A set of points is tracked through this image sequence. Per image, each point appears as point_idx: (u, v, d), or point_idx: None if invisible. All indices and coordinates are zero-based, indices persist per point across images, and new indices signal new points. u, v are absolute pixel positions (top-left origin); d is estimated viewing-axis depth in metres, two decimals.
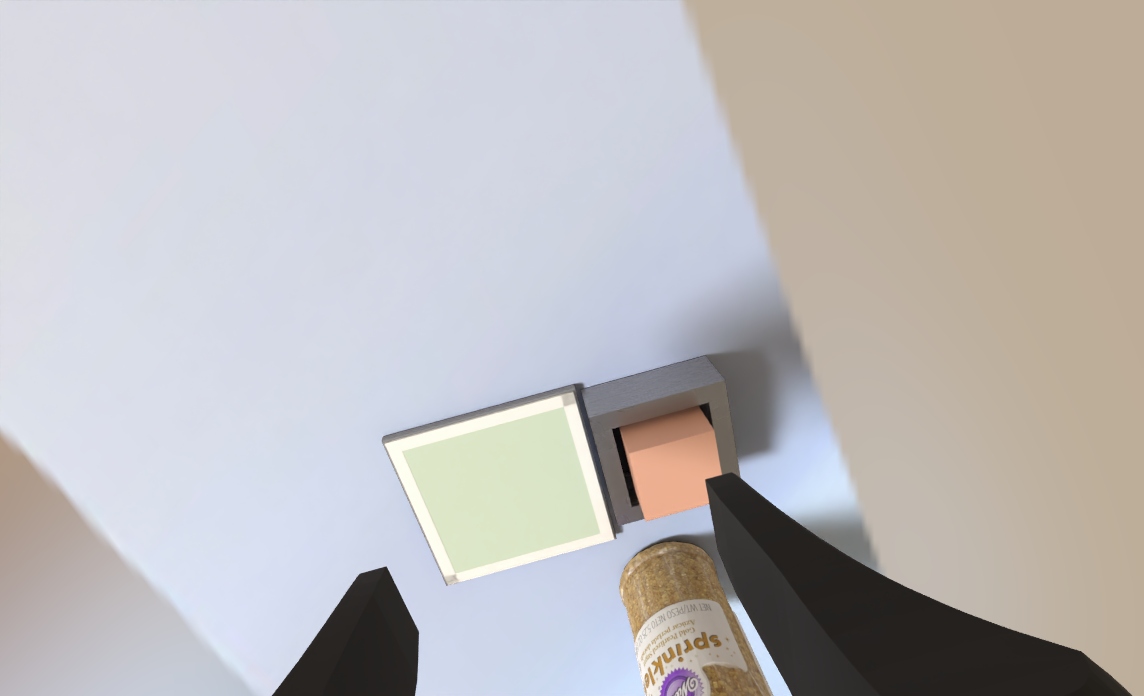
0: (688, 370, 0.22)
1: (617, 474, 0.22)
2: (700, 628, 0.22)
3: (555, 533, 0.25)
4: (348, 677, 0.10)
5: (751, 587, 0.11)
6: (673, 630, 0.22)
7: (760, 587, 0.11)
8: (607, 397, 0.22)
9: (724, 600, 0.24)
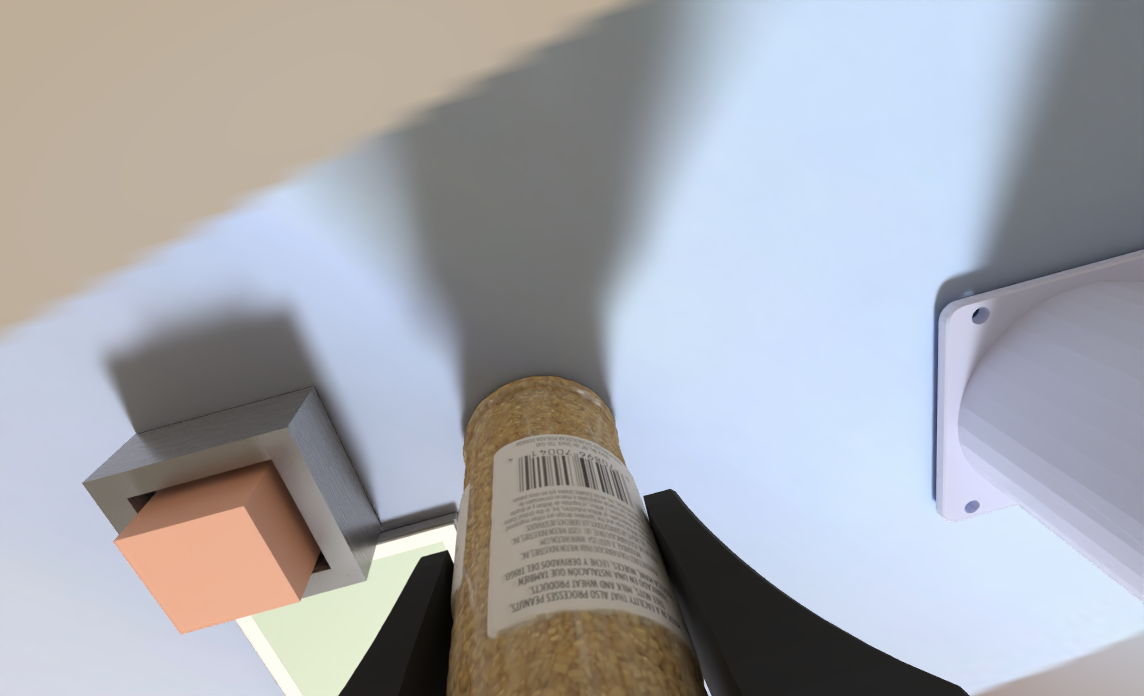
0: None
1: None
2: None
3: None
4: (424, 656, 0.10)
5: (682, 606, 0.11)
6: None
7: (687, 607, 0.11)
8: None
9: (488, 451, 0.14)
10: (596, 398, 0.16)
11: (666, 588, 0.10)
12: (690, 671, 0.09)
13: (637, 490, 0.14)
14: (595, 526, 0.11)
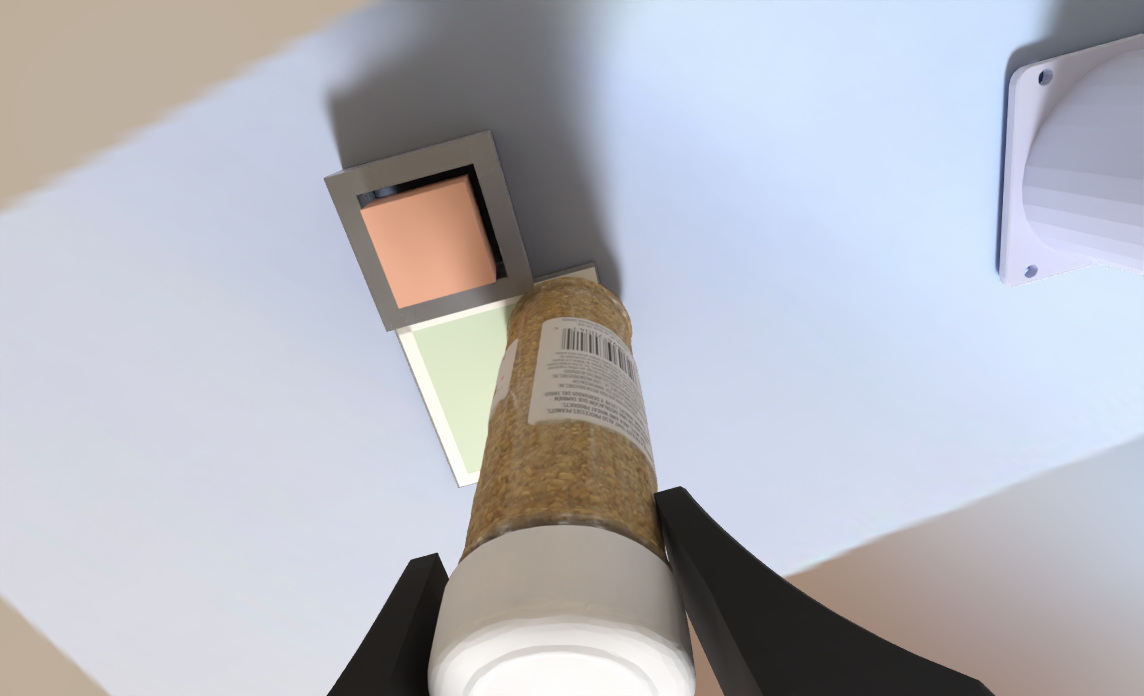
0: None
1: (461, 296, 0.19)
2: None
3: None
4: (411, 660, 0.10)
5: (693, 603, 0.11)
6: None
7: (699, 604, 0.11)
8: None
9: (537, 320, 0.18)
10: (624, 310, 0.20)
11: (648, 439, 0.15)
12: (653, 484, 0.13)
13: (639, 381, 0.18)
14: (611, 384, 0.15)
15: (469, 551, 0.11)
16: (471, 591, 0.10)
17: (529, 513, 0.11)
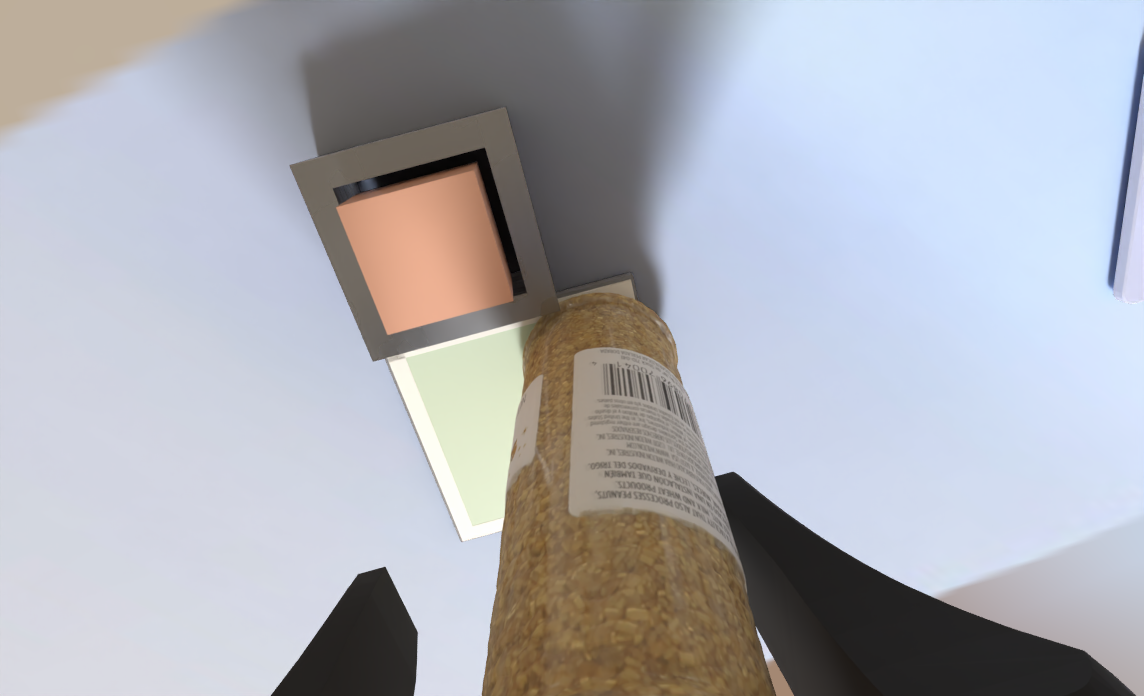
0: None
1: (467, 317, 0.15)
2: None
3: None
4: (346, 677, 0.10)
5: (753, 587, 0.11)
6: None
7: (762, 587, 0.11)
8: None
9: (566, 350, 0.14)
10: (669, 334, 0.16)
11: (728, 523, 0.11)
12: (747, 600, 0.09)
13: None
14: (677, 447, 0.11)
15: None
16: None
17: (588, 691, 0.07)
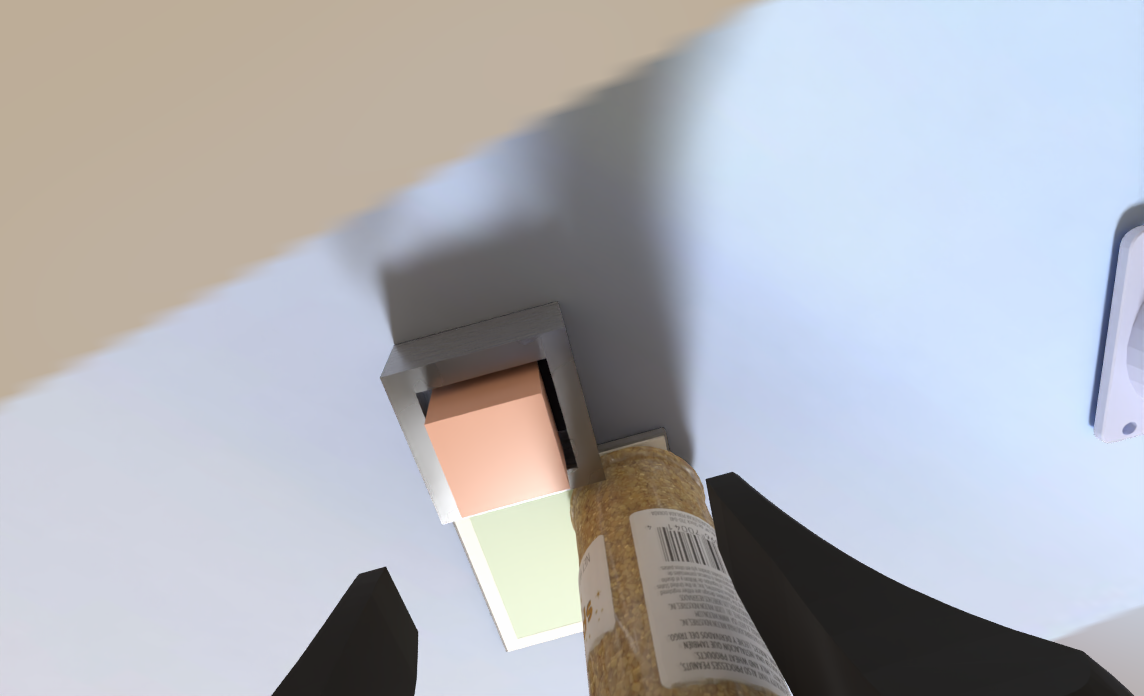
0: None
1: None
2: (583, 603, 0.15)
3: None
4: (347, 677, 0.10)
5: (752, 587, 0.11)
6: None
7: (761, 587, 0.11)
8: None
9: (620, 510, 0.16)
10: (698, 478, 0.19)
11: None
12: None
13: None
14: (733, 608, 0.13)
15: None
16: None
17: None
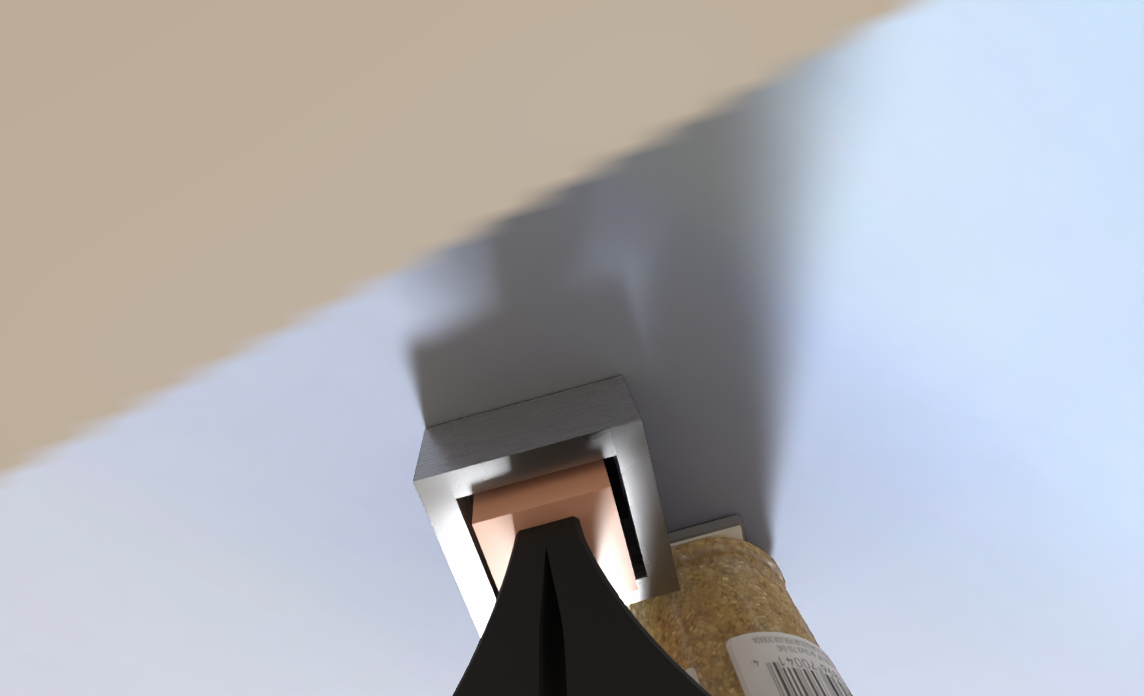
0: None
1: None
2: None
3: None
4: (546, 622, 0.10)
5: None
6: None
7: None
8: None
9: (710, 633, 0.13)
10: (779, 571, 0.16)
11: None
12: None
13: None
14: None
15: None
16: None
17: None
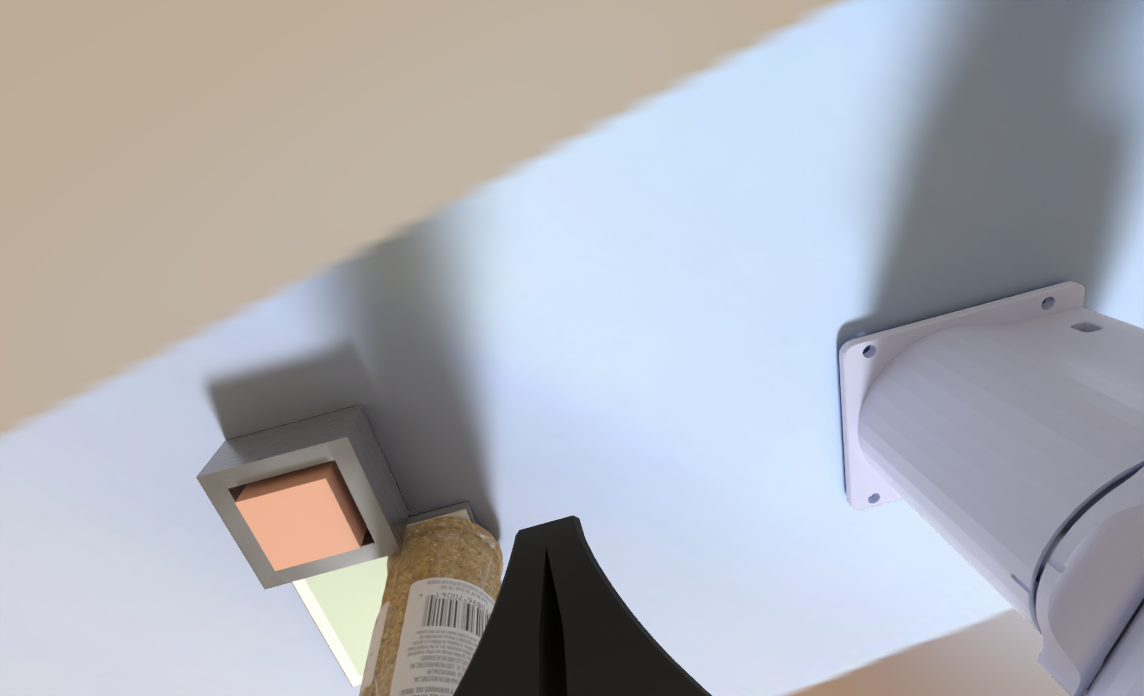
0: None
1: (332, 559, 0.21)
2: None
3: None
4: (546, 622, 0.10)
5: None
6: None
7: None
8: None
9: (407, 579, 0.20)
10: (492, 541, 0.23)
11: None
12: None
13: None
14: (464, 664, 0.17)
15: None
16: None
17: None
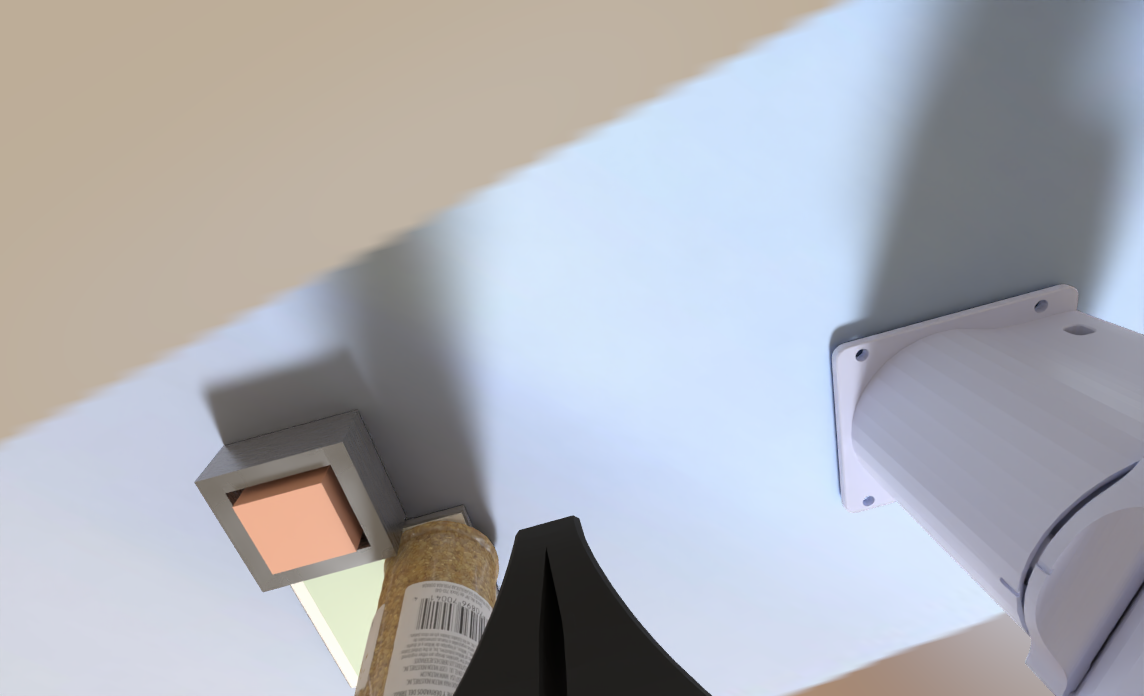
0: None
1: (329, 562, 0.21)
2: None
3: None
4: (547, 622, 0.10)
5: None
6: None
7: None
8: None
9: (402, 582, 0.20)
10: (488, 545, 0.23)
11: None
12: None
13: None
14: (457, 666, 0.17)
15: None
16: None
17: None
